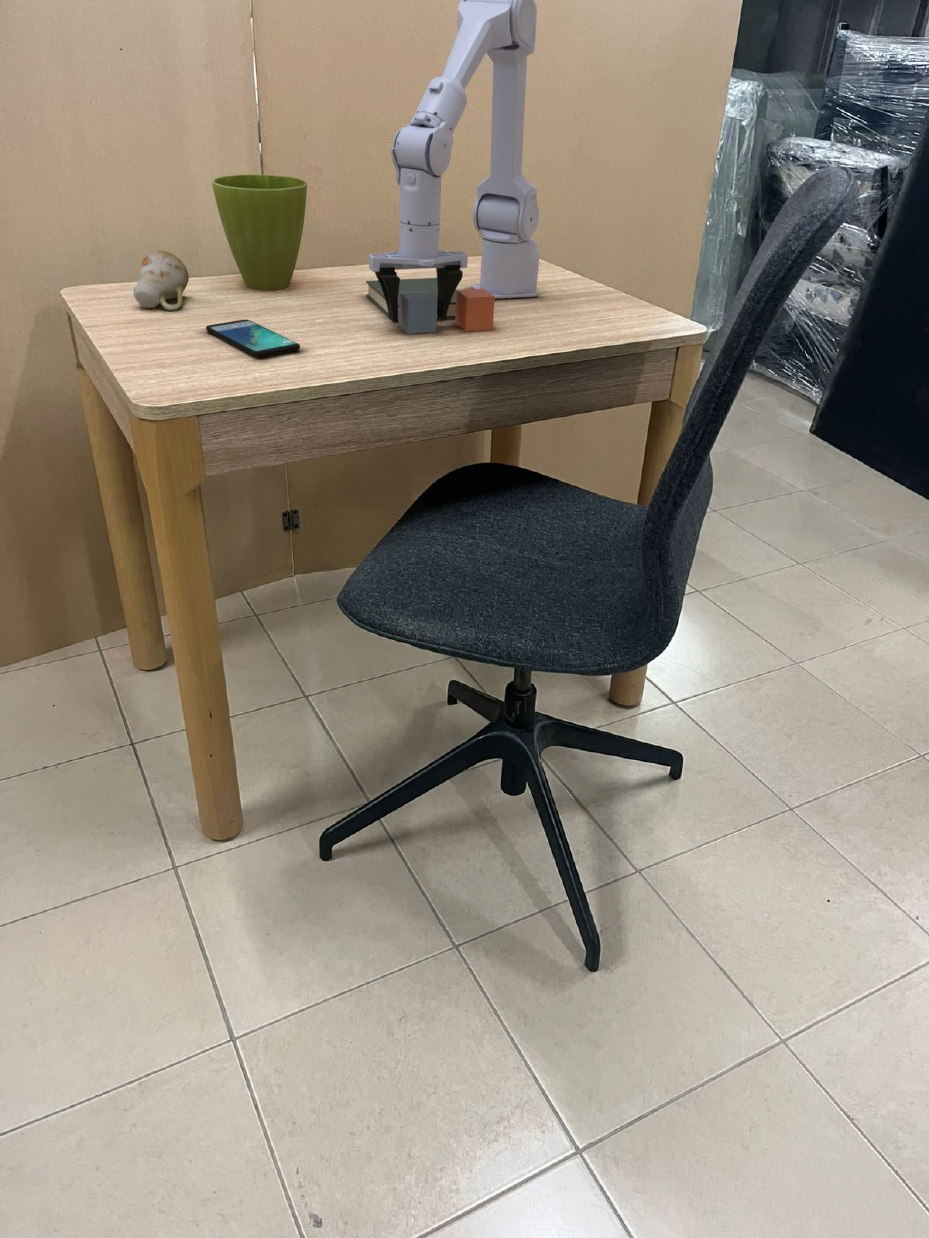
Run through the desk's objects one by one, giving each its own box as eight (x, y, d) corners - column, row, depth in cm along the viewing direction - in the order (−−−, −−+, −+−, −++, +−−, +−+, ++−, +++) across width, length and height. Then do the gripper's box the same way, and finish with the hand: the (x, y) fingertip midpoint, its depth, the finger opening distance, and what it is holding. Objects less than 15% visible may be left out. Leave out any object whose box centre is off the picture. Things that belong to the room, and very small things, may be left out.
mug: (121, 311, 137) (116, 244, 136) (161, 325, 146) (157, 262, 145) (163, 304, 135) (157, 236, 134) (201, 319, 144) (196, 255, 143)
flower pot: (203, 282, 152) (192, 178, 143) (273, 269, 162) (266, 171, 153) (260, 301, 144) (251, 192, 136) (329, 287, 154) (326, 184, 145)
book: (439, 292, 155) (439, 277, 153) (471, 317, 143) (472, 301, 142) (366, 296, 150) (365, 280, 149) (393, 322, 139) (393, 305, 138)
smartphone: (247, 318, 134) (302, 345, 125) (248, 323, 134) (302, 350, 125) (203, 325, 130) (256, 353, 121) (203, 331, 130) (257, 359, 121)
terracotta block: (481, 321, 142) (483, 288, 139) (492, 329, 138) (495, 296, 136) (454, 323, 140) (456, 290, 138) (465, 331, 137) (467, 297, 134)
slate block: (426, 323, 139) (427, 290, 136) (436, 332, 136) (437, 298, 133) (398, 325, 138) (399, 291, 135) (408, 334, 134) (408, 299, 132)
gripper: (379, 229, 123) (379, 329, 130) (477, 226, 128) (472, 323, 135) (364, 218, 128) (365, 315, 136) (459, 217, 133) (455, 310, 141)
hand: (417, 319), depth 136 cm, fingers open, 7 cm apart
